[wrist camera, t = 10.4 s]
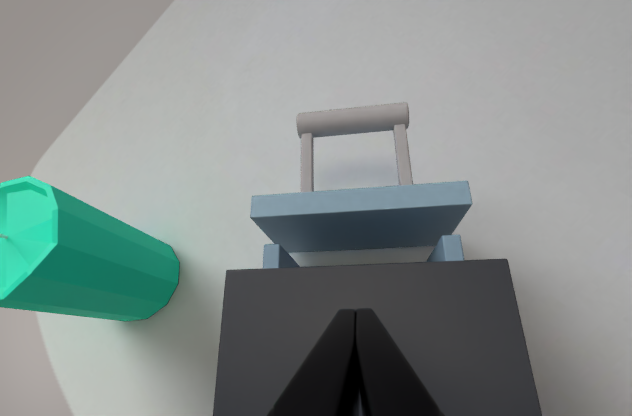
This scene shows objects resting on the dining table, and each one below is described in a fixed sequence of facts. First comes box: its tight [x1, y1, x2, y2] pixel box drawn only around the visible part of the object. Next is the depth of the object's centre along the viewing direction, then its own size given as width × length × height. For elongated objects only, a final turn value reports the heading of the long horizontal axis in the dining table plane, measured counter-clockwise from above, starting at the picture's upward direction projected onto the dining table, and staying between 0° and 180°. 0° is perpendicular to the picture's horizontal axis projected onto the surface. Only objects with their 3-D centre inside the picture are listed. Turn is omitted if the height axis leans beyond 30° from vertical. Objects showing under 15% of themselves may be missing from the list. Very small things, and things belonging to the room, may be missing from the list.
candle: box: [0, 176, 179, 321], centre depth 19 cm, size 6×6×12 cm
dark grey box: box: [213, 259, 542, 416], centre depth 16 cm, size 12×12×9 cm
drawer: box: [250, 102, 472, 269], centre depth 19 cm, size 16×10×7 cm, turn 0°
